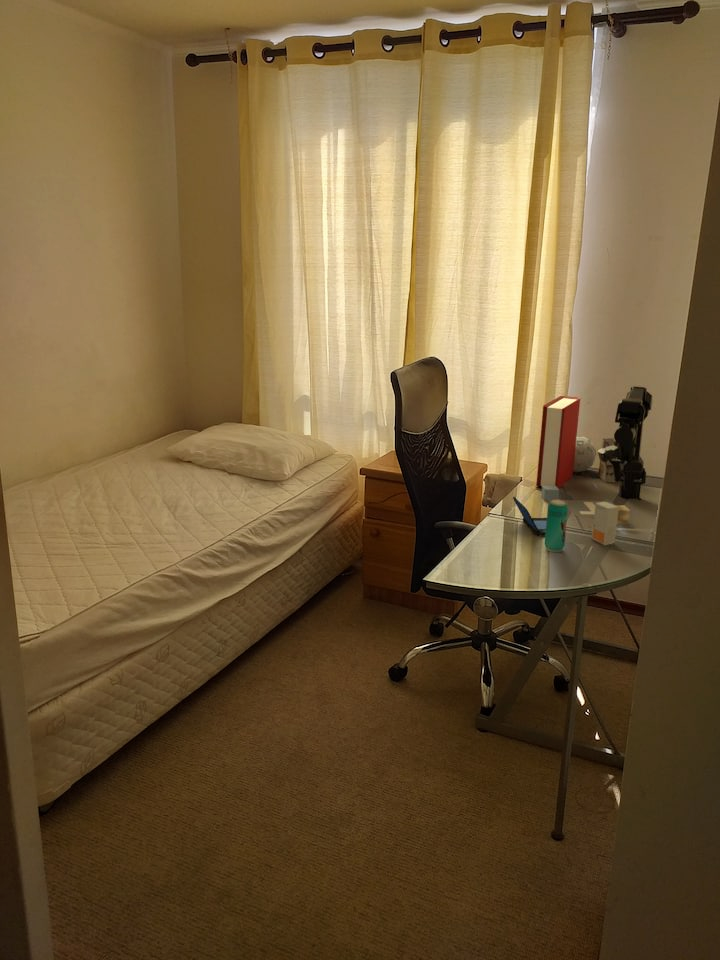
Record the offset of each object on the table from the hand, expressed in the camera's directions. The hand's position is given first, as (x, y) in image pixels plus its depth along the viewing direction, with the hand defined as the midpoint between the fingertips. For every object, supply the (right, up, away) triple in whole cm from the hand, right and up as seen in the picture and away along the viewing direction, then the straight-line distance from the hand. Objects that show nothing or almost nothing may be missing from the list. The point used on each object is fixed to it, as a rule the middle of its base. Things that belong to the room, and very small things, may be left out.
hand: (621, 485), depth 244 cm
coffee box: (+15, +2, +56) cm, 58 cm away
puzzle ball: (+5, +5, +68) cm, 68 cm away
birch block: (0, -13, +4) cm, 13 cm away
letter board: (-4, -9, +17) cm, 20 cm away
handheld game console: (-28, -14, -3) cm, 32 cm away
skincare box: (-10, -17, -14) cm, 24 cm away
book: (-8, +1, +53) cm, 53 cm away
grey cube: (-17, -6, +27) cm, 32 cm away
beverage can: (-28, -19, -21) cm, 40 cm away
